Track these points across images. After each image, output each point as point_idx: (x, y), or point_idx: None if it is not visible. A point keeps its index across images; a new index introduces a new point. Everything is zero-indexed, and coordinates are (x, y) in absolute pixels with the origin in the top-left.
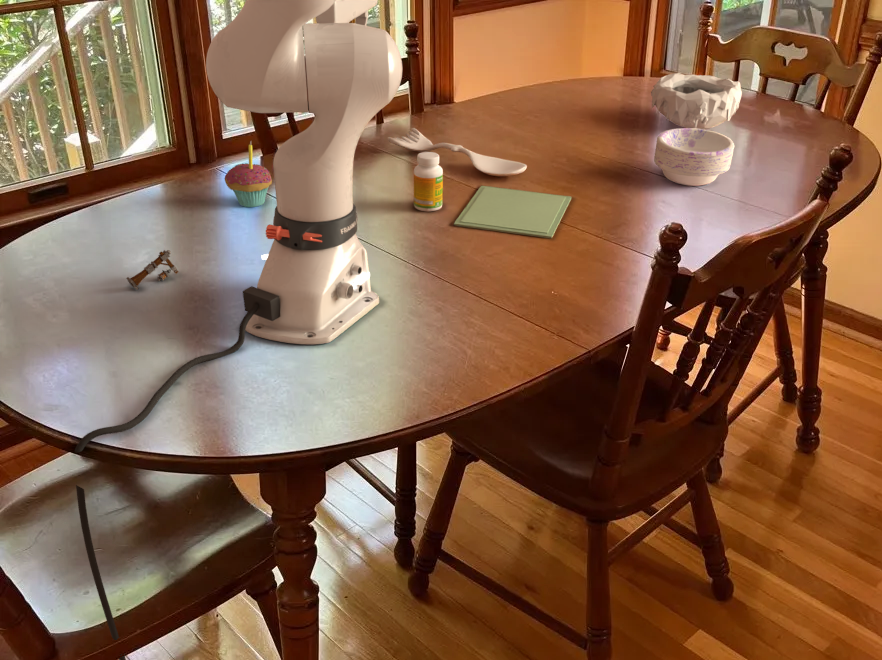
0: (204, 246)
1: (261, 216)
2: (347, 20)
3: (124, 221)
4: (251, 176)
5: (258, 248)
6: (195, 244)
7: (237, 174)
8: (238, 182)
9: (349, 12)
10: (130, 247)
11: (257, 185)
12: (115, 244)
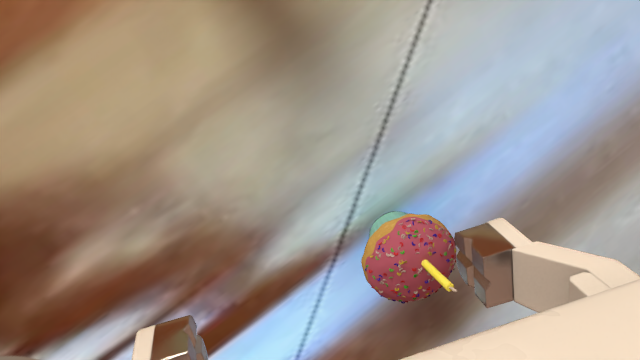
0: (584, 165)
1: (439, 176)
2: (619, 299)
3: None
4: (441, 242)
5: (565, 85)
6: (581, 182)
7: (450, 265)
8: (455, 250)
9: (614, 351)
10: (617, 247)
11: (436, 221)
12: None
